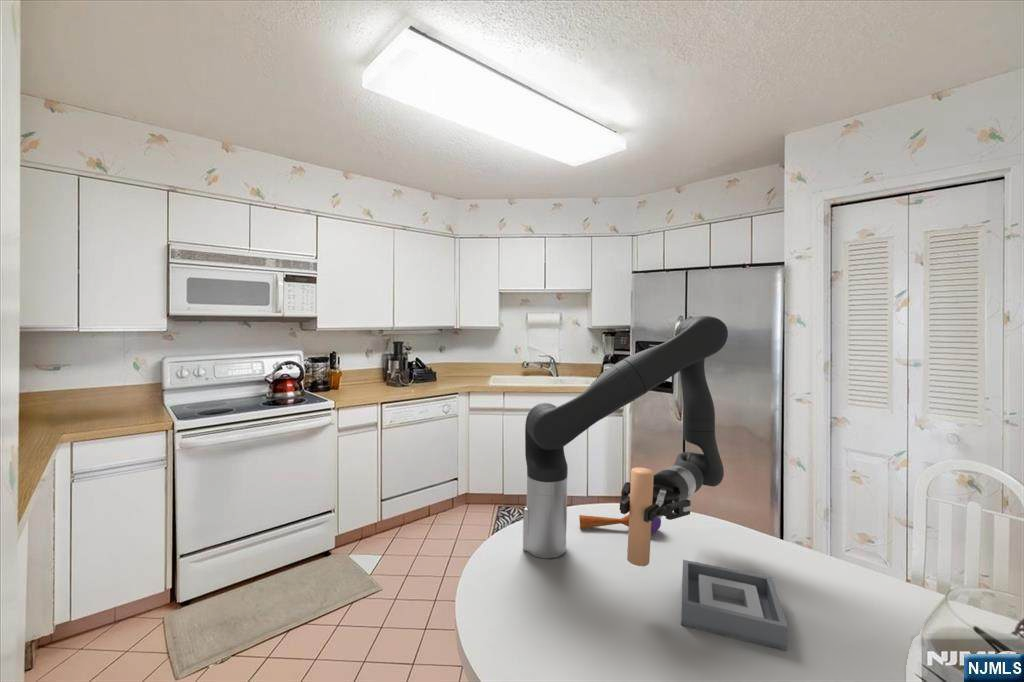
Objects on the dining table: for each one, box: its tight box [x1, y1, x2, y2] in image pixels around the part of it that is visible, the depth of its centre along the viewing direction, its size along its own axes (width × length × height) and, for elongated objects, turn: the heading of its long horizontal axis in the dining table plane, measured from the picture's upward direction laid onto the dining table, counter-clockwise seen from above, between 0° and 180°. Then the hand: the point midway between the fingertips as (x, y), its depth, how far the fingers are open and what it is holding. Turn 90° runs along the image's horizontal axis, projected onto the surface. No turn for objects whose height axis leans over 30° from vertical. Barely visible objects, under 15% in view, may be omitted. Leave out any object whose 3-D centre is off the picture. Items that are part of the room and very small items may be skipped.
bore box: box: [680, 559, 789, 652], centre depth 83 cm, size 16×15×4 cm
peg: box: [626, 466, 655, 567], centre depth 84 cm, size 4×4×17 cm
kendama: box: [578, 514, 662, 534], centre depth 113 cm, size 6×6×20 cm
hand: (634, 512), depth 81 cm, fingers closed on peg, 4 cm apart
